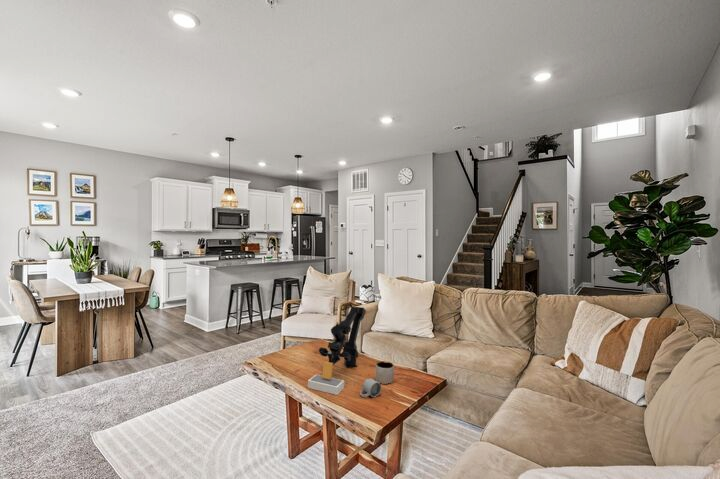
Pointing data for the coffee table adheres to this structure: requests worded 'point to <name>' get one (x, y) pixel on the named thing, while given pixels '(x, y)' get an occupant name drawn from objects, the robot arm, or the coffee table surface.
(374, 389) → the ceramic mug
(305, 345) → the coffee table surface
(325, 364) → the lever
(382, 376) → the planter
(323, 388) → the breaker housing
